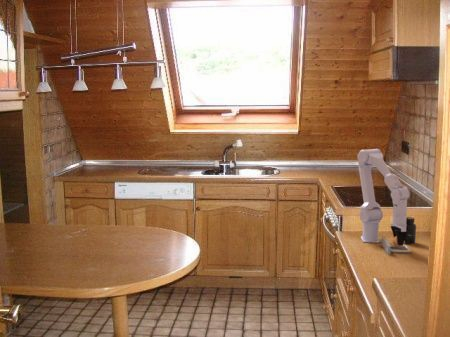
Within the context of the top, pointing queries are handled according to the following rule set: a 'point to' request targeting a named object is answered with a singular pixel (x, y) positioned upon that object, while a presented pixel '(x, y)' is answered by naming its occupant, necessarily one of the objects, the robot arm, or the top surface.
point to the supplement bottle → (410, 231)
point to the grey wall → (386, 245)
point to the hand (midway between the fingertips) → (398, 243)
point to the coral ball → (396, 242)
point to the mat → (400, 249)
